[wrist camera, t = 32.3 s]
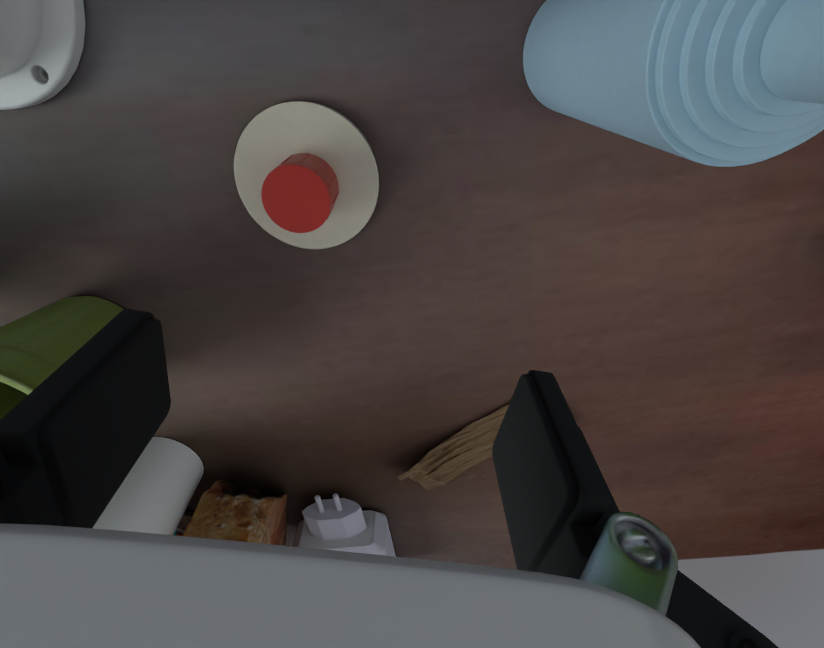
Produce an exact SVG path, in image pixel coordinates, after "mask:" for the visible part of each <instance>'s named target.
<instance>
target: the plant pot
mask: <svg viewBox="0 0 824 648" xmlns="http://www.w3.org/2000/svg"><path fill="white" fill-rule="evenodd" d="M122 310H124V309H123V308H121V307H120V306H118V305H116V304H114V303H112V302H110V301H107V300H104V299H101V298H98V297H94V296H77V297H66V298H64V299H62V300H59V301H57V302H55V303H52V304H50V305H48V306H46V307H44V308H41V309H39V310H37V311H35V312H33V313H31V314H28V315H26V316H24V317H22V318H20V319H18V320H15V321H13V322H11V323H9V324H6V325H4V326H2V327H0V420H1V419H2V418H3V417H4V416H5V415H6V414H8V413H9V412H10V411H11V410H12V409H13V408H14V407H15V406H16V405H18V404H19V403H20V402H21V401H22V400H23V399H24V398H25V397H26V396H28V395H29V394H30V393H31V392H32V391H33V390H34V389H35V388H36V387H38V386H39V385H40V384H41V383H42V382H43V381H44V380H45V379H46V378H48V377H49V376H50V375H51V374H52V373H53V372H54V371H55V370H56V369H58V368H59V367H60V366H61V365H62V364H63V363H64V362H65V361H66V360H68V359H69V358H70V357H71V356H72V355H73V354H74V353H75V352H76V351H78V350H79V349H80V348H81V347H82V346H83V345H84V344H85V343H86V342H88V341H89V340H90V339H91V338H92V337H93V336H94V335H95V334H96V333H98V332H99V331H100V330H101V329H102V328H103V327H104V326H105V325H106V324H108V323H109V322H110V321H111V320H112V319H113V318H114V317H115V316H116V315H118V314H119V313H120V312H121V311H122Z"/></svg>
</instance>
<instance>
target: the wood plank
mask: <svg viewBox="0 0 824 648" xmlns="http://www.w3.org/2000/svg"><path fill="white" fill-rule="evenodd" d="M508 406H509V405H506V406H504V407H502V408H501V409H499V410H497V411H496V412H494V413H492V414H490V415H488V416H486V417H484V418H482V419H480V420H478V421H475V422H473V423H472V424H470V425H467V426H466V427H465V428H463V429H462V430H461V431H460V432H458V433H456V434H454V435H453V436H451V437H450V438H449V439H447V440H446V441H444V442H443V443H441V444H440V445H438V446H437V447H435V448H434V449H433V450H431V451H430V452H428V453H427V454H426V455H425V456H424V457H423V458H422V459H421V460H420V462H419V463H417V464H416V465H414V466H413V467H412V468H411V469H410V470H409V471H407V472H406V473H404V474H402V475H400V476H398V477H397V478H398V479H400V480H401V481H402V480H404V479H405V478H407V477H408V478H410V479H411V480H413V481H416V482H418V483H419V484H421V485H422V486H423V488H425V489H426V491H429V490H432V489H435V488H438V487H441V486H443V485H446V484H447V483H449V482H450V481H451V480H453V479H454V478H456V477H457V476H458V475H460V474H462V473H463V472H465V471H467V470H468V469H470V468H472V467H473V466H475V465H476V464H478V463H480V462H482V461H484V460H486V459H488V458H490V457H492V447H493V443H494V440H495V438H496V435H497V433H498V431H499V428H500V426H501V423H502V421H503V418H504V416H505V413H506V411H507V409H508Z"/></svg>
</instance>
